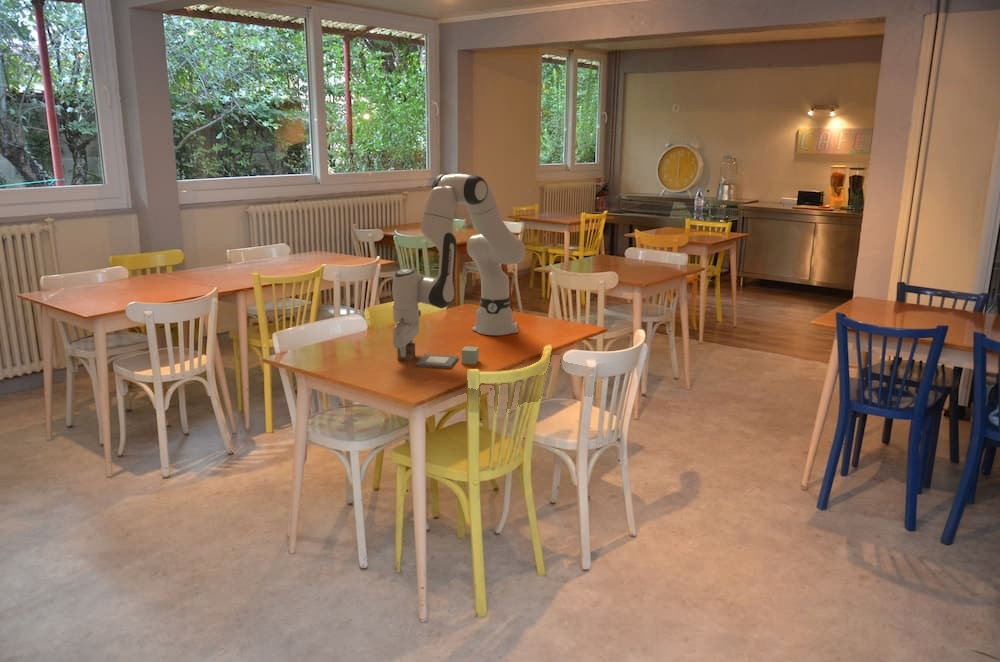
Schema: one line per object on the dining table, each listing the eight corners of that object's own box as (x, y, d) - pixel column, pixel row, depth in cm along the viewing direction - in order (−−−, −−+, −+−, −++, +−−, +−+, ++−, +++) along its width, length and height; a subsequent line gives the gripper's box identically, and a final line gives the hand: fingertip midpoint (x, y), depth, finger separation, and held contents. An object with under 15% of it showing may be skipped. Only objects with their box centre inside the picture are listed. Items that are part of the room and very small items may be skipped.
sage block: (464, 360, 276) (464, 346, 275) (478, 360, 275) (478, 347, 274) (461, 364, 271) (461, 350, 270) (475, 364, 271) (475, 351, 269)
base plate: (425, 356, 279) (425, 353, 279) (458, 358, 277) (458, 355, 277) (416, 366, 267) (416, 363, 267) (450, 368, 265) (450, 365, 265)
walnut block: (401, 355, 280) (401, 342, 278) (415, 356, 279) (415, 343, 278) (397, 359, 275) (397, 346, 274) (411, 360, 274) (411, 346, 273)
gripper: (406, 323, 263) (406, 362, 266) (422, 309, 282) (422, 346, 286) (388, 322, 264) (389, 361, 267) (405, 308, 283) (405, 345, 287)
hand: (406, 353), depth 277 cm, fingers closed on walnut block, 5 cm apart
